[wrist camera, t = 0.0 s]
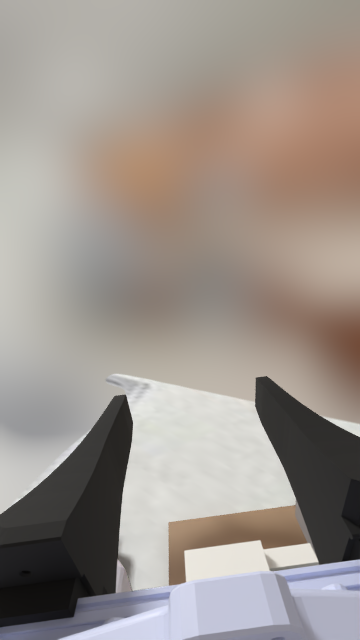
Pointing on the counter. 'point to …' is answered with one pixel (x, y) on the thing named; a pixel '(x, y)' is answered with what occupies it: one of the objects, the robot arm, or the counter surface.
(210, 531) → the mounting board
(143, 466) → the counter surface
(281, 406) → the robot arm
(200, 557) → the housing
